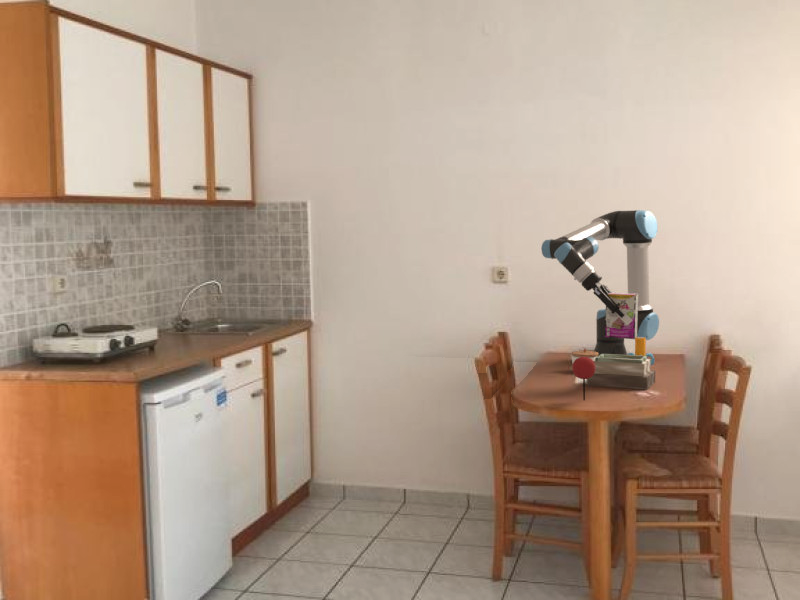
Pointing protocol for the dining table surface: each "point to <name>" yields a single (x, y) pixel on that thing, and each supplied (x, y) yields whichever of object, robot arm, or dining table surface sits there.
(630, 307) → the candy bar box
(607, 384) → the tower base
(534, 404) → the dining table surface
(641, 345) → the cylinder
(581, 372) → the lollipop
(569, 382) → the dining table surface
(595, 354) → the lidded jar
